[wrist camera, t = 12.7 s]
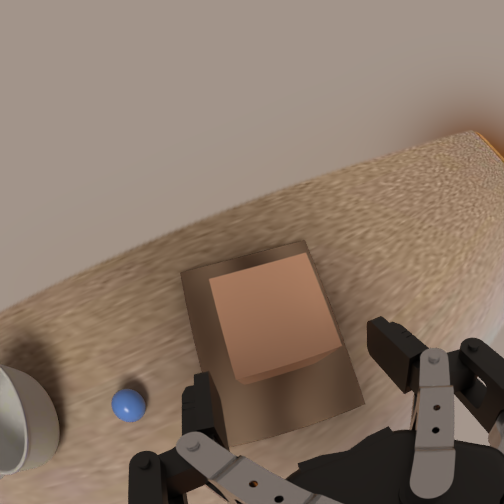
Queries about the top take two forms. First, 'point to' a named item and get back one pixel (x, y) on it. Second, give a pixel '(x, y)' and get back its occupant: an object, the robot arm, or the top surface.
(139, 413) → the marble
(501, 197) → the top surface
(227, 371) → the board
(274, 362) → the peach colored cube
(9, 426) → the teacup
